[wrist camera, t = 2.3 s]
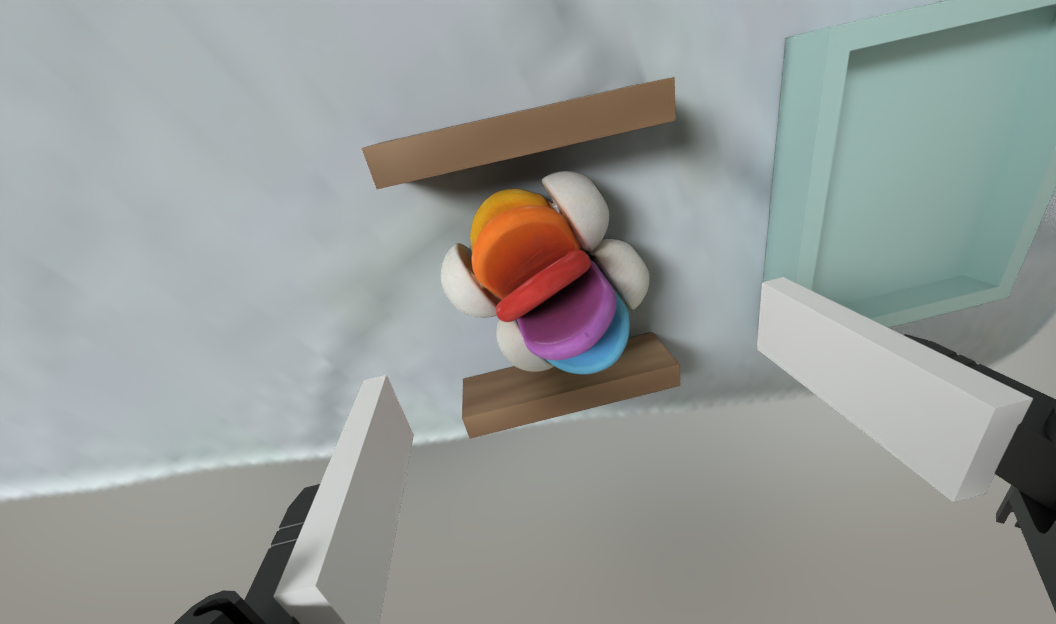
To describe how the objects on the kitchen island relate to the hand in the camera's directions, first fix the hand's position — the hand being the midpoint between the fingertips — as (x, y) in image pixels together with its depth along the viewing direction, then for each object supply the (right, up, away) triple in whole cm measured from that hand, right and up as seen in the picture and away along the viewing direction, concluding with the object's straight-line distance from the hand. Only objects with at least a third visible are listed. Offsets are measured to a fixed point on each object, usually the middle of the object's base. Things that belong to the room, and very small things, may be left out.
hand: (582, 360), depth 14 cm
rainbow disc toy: (-1, +4, +8) cm, 9 cm away
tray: (+18, +9, +8) cm, 22 cm away
